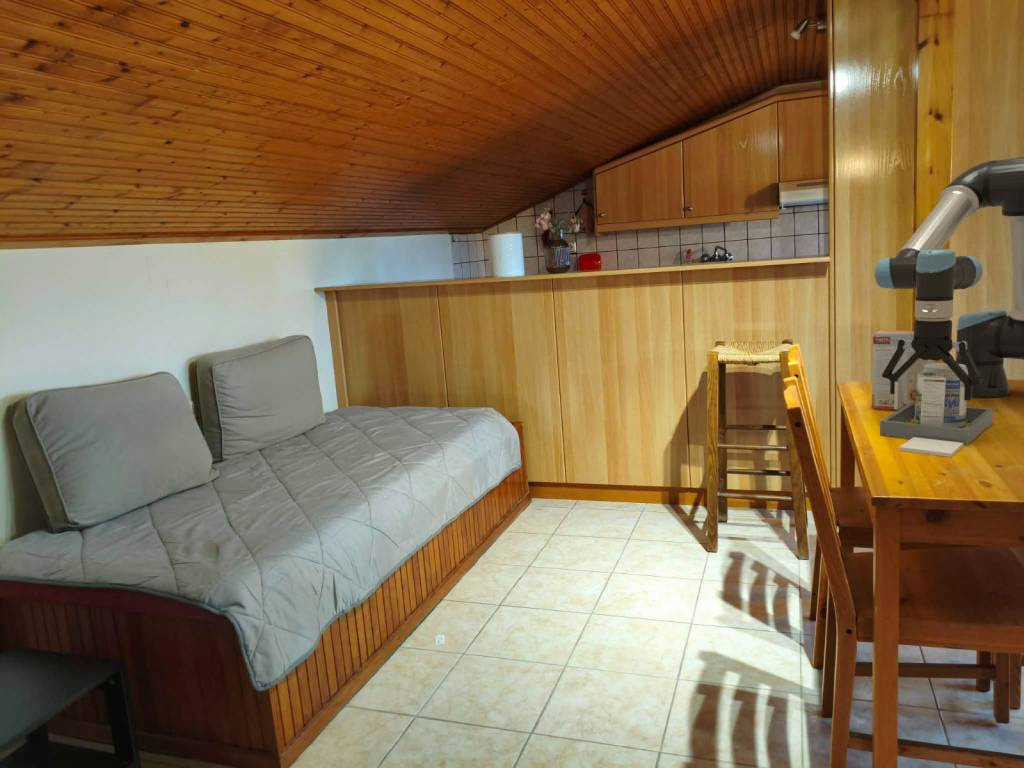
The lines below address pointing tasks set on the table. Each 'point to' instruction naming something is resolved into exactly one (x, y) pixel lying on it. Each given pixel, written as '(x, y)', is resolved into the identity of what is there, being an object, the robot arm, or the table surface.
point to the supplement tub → (950, 394)
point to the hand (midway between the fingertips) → (929, 411)
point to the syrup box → (930, 398)
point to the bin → (899, 428)
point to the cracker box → (882, 355)
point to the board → (931, 447)
